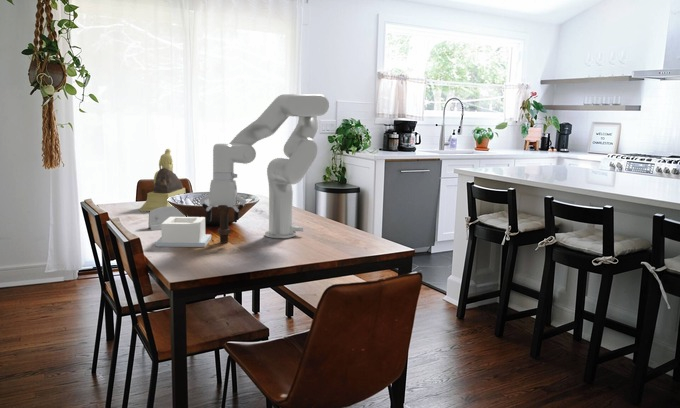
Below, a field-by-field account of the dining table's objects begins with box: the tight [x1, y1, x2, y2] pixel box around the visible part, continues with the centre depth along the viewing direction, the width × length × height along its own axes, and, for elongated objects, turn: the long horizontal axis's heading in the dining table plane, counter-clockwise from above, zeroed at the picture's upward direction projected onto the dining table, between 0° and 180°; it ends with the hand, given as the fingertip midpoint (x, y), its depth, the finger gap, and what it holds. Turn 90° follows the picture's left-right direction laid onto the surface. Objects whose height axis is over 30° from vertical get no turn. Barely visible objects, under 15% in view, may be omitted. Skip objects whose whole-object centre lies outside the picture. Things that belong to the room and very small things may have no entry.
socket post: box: [155, 216, 212, 248], centre depth 206 cm, size 18×14×8 cm
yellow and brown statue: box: [140, 148, 186, 212], centre depth 275 cm, size 28×13×30 cm, turn 174°
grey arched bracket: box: [148, 206, 186, 231], centre depth 231 cm, size 17×5×10 cm, turn 121°
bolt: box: [215, 205, 232, 244], centre depth 206 cm, size 6×5×15 cm
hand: (222, 221), depth 206 cm, fingers open, 9 cm apart
